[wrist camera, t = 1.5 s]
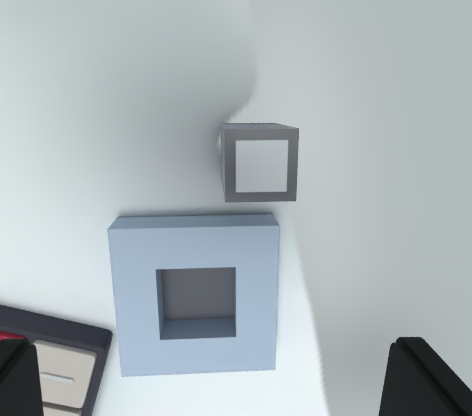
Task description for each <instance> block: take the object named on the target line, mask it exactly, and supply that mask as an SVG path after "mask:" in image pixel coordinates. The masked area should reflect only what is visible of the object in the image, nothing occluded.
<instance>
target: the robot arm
mask: <svg viewBox="0 0 472 416" xmlns="http://www.w3.org/2000/svg"><path fill="white" fill-rule="evenodd" d="M0 416H44V411H43V402H42V393H41V384H40V375H39V366H38V357H37V349H36V346H35V345H34V344H30V342H29V340H28V339H26V338H4V339H1V340H0ZM379 416H472V391H471V390H470V389H469V388H468V387H467V386H466V385H465V383H464V382H463V381H462V380H461V379H460V378H459V377H458V376H457V375H456V374H455V373H454V371H453V370H452V369H450V367H449V366H448V365H447V364H446V363H445V362H444V361H443V360H442V359H441V357H440V356H439V355H438V354H437V353H436V352H435V351H434V350H433V349H432V348H431V347H430V346H429V345H428V343H426V341H425V340H424V339H422V338H421V337H399V338H398V339H397V340H396V343H392V344H391V346H390V351H389V357H388V363H387V369H386V375H385V381H384V386H383V393H382V398H381V404H380V410H379Z"/></svg>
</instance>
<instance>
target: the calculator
mask: <svg viewBox="0 0 472 416" xmlns="http://www.w3.org/2000/svg"><path fill="white" fill-rule="evenodd" d="M4 338H26V339H28V340H29V342H30V344H34V345H35V346H36V349H37V357H38V366H39V375H40V384H41V393H42V402H43V411H44V416H91V414H92V411H93V407H94V403H95V400H96V396H97V392H98V388H99V385H100V381H101V377H102V374H103V370H104V366H105V362H106V359H107V355H108V351H109V347H110V343H111V340H112V332H111V331H110V330H107V329H103V328H98V327H94V326H90V325H85V324H81V323H77V322H72V321H68V320H64V319H59V318H55V317H51V316H46V315H42V314H38V313H33V312H29V311H25V310H20V309H16V308H12V307H7V306H3V305H0V340H1V339H4Z"/></svg>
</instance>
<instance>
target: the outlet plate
mask: <svg viewBox="0 0 472 416" xmlns="http://www.w3.org/2000/svg"><path fill="white" fill-rule="evenodd" d="M108 239H109V249H110V260H111V270H112V281H113V291H114V302H115V312H116V322H117V333H118V343H119V354H120V364H121V375H122V377H128V376H150V375H171V374H193V373H215V372H237V371H259V370H275V362H276V326H277V290H278V254H279V224H278V222H277V221H276V219H275V217H274V216H273V214H252V215H203V216H154V217H118V218H117V219H116V220H115V221H114V222H113V224H112V225H111V226H110V227H109V228H108Z"/></svg>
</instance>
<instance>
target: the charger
mask: <svg viewBox="0 0 472 416" xmlns="http://www.w3.org/2000/svg"><path fill="white" fill-rule="evenodd" d="M298 139H299V128H294V127H289V126H285V125H281V124H276V123H223V124H221V178H222V184H223V191H224V198H225V202H271V201H296V190H297V189H296V188H297V165H298Z"/></svg>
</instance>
